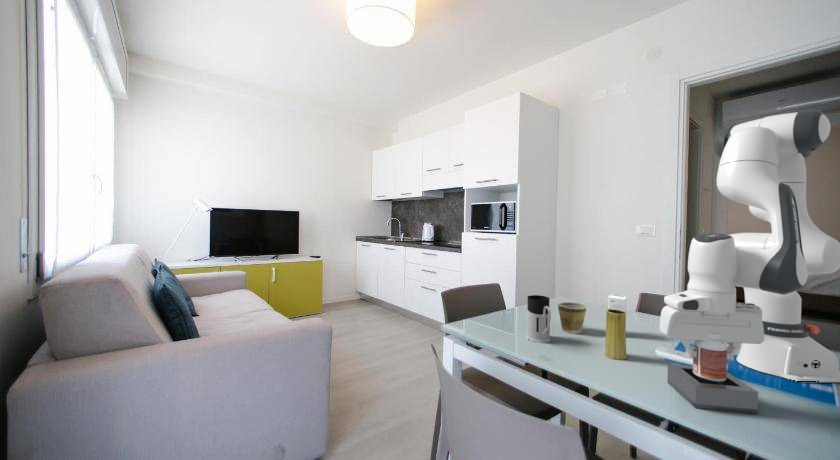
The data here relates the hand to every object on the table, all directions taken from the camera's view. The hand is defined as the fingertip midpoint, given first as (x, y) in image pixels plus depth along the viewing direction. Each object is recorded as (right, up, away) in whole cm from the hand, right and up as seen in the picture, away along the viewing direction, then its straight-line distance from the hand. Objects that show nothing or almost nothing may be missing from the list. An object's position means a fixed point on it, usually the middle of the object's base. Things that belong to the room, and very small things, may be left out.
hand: (709, 358), depth 79 cm
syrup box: (+4, -8, +44) cm, 45 cm away
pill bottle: (0, -5, 0) cm, 5 cm away
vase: (-8, -9, +25) cm, 27 cm away
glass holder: (-27, -9, +38) cm, 47 cm away
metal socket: (0, -10, 0) cm, 10 cm away
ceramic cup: (-11, -8, +50) cm, 51 cm away
